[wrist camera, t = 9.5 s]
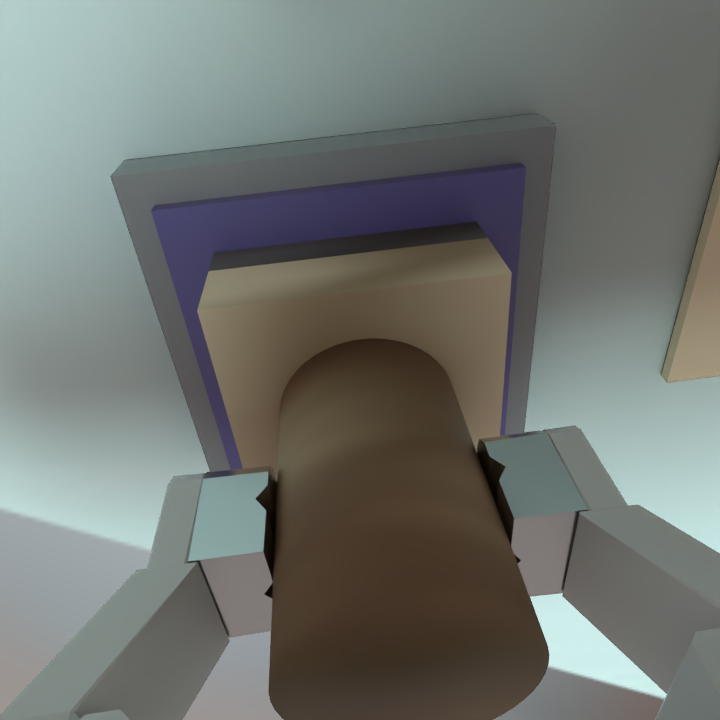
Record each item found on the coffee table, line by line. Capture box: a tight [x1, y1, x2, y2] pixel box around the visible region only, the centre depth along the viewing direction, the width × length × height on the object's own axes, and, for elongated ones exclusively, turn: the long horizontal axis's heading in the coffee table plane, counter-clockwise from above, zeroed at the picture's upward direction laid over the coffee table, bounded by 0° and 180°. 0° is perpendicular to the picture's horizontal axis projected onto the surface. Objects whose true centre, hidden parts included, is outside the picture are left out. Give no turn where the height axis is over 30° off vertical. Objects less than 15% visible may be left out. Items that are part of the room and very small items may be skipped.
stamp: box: [197, 221, 549, 720], centre depth 9 cm, size 5×5×7 cm
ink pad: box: [110, 113, 556, 472], centre depth 13 cm, size 8×8×1 cm
